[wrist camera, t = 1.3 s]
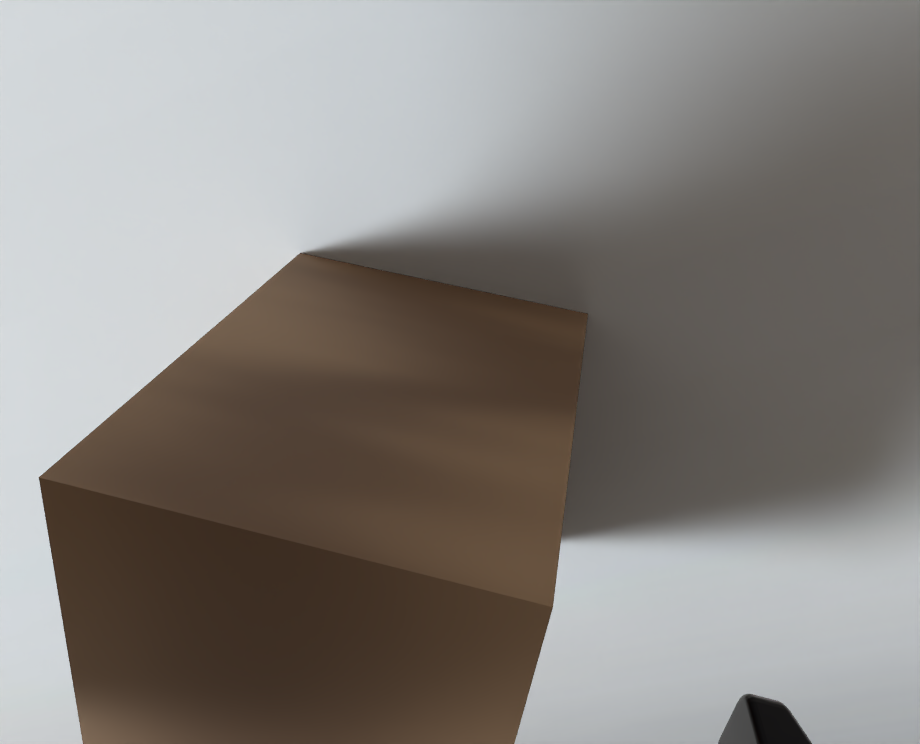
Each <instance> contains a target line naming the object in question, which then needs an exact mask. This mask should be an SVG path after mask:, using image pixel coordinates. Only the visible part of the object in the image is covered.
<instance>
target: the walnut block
mask: <svg viewBox="0 0 920 744" xmlns="http://www.w3.org/2000/svg"><path fill="white" fill-rule="evenodd" d="M587 318H588V314H587V313H582V312H577V311H572V310H568V309H563V308H558V307H553V306H549V305H544V304H539V303H534V302H530V301H525V300H520V299H515V298H511V297H506V296H501V295H496V294H492V293H487V292H482V291H478V290H473V289H468V288H463V287H459V286H454V285H449V284H444V283H440V282H435V281H430V280H425V279H421V278H416V277H411V276H406V275H402V274H397V273H392V272H387V271H383V270H378V269H373V268H369V267H364V266H359V265H354V264H350V263H345V262H340V261H335V260H331V259H326V258H321V257H316V256H312V255H307V254H302V253H300V254H299V255H297V256H296V257H295V258H294V259H293V260H292V261H290V262H289V263H288V264H287V265H286V266H285V267H283V268H282V269H281V270H280V271H279V272H278V273H276V274H275V275H274V276H273V277H272V278H271V279H269V280H268V281H267V282H266V283H265V284H264V285H262V286H261V287H260V288H259V289H258V290H257V291H255V292H254V293H253V294H252V295H251V296H250V297H248V298H247V299H246V300H245V301H244V302H243V303H241V304H240V305H239V306H238V307H237V308H236V309H234V310H233V311H232V312H231V313H230V314H229V315H228V316H226V317H225V318H224V319H223V320H222V321H221V322H219V323H218V324H217V325H216V326H215V327H214V328H212V329H211V330H210V331H209V332H208V333H207V334H205V335H204V336H203V337H202V338H201V339H200V340H198V341H197V342H196V343H195V344H194V345H193V346H191V347H190V348H189V349H188V350H187V351H186V352H184V353H183V354H182V355H181V356H180V357H179V358H177V359H176V360H175V361H174V362H173V363H172V364H170V365H169V366H168V367H167V368H166V369H165V370H163V371H162V372H161V373H160V374H159V375H158V376H156V377H155V378H154V379H153V380H152V381H151V382H149V383H148V384H147V385H146V386H145V387H144V388H143V389H141V390H140V391H139V392H138V393H137V394H136V395H134V396H133V397H132V398H131V399H130V400H129V401H127V402H126V403H125V404H124V405H123V406H122V407H120V408H119V409H118V410H117V411H116V412H115V413H113V414H112V415H111V416H110V417H109V418H108V419H106V420H105V421H104V422H103V423H102V424H101V425H99V426H98V427H97V428H96V429H95V430H94V431H92V432H91V433H90V434H89V435H88V436H87V437H85V438H84V439H83V440H82V441H81V442H80V443H78V444H77V445H76V446H75V447H74V448H73V449H71V450H70V451H69V452H68V453H67V454H66V455H64V456H63V457H62V458H61V459H60V460H59V461H58V462H56V463H55V464H54V465H53V466H52V467H51V468H49V469H48V470H47V471H46V472H45V473H44V474H42V475H41V476H40V477H39V481H40V487H41V493H42V499H43V505H44V511H45V517H46V523H47V529H48V535H49V541H50V547H51V553H52V559H53V565H54V571H55V577H56V583H57V589H58V595H59V601H60V607H61V613H62V619H63V625H64V632H65V638H66V644H67V650H68V656H69V662H70V668H71V674H72V680H73V686H74V692H75V698H76V704H77V710H78V716H79V722H80V728H81V734H82V740H83V744H514V742H515V739H516V735H517V732H518V728H519V725H520V721H521V718H522V714H523V711H524V707H525V704H526V700H527V697H528V693H529V689H530V686H531V682H532V679H533V675H534V672H535V668H536V665H537V661H538V658H539V654H540V651H541V647H542V643H543V640H544V636H545V633H546V629H547V626H548V622H549V619H550V615H551V612H552V608H553V601H554V593H555V584H556V576H557V568H558V559H559V551H560V543H561V534H562V526H563V518H564V509H565V501H566V493H567V484H568V476H569V468H570V459H571V451H572V443H573V434H574V426H575V418H576V409H577V401H578V393H579V384H580V376H581V368H582V359H583V351H584V343H585V334H586V326H587Z"/></svg>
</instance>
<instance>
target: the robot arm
mask: <svg viewBox="0 0 920 744" xmlns="http://www.w3.org/2000/svg"><path fill="white" fill-rule="evenodd" d="M718 744H812V743H811V741H810V740H809V738H808V737H807V735H806V734H805V732H804V731H803V729H802V728H801V726H800V725H799V723H798V722H797V721H796V719H795V718H794V716H793V715H792V713H791V712H790V710H789V709H788V708H787V707H786V706H785V705H784V704H783V703H781V702H779V701H776V700H772V699H768V698H764V697H760V696H756V695H753V694H745V695H743V696H742V697H741V698H740V699H739V701H738V702H737V705H736V707H735V709H734V711H733V713H732V715H731V717H730V719H729V721H728V723H727V725H726V727H725V729H724V731H723V733H722V735H721V737H720V739H719V742H718Z"/></svg>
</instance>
